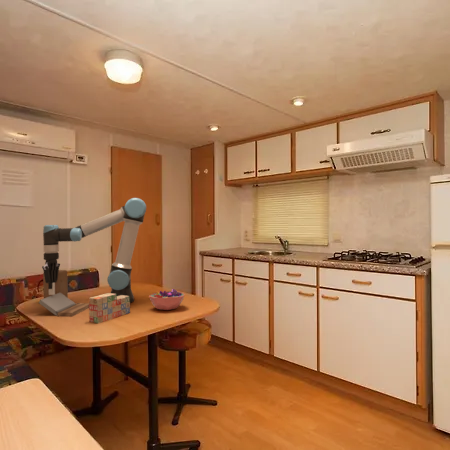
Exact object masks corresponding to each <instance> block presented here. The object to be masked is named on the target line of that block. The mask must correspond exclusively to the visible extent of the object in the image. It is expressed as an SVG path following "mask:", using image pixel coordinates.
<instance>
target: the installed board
mask: <svg viewBox="0 0 450 450" xmlns="http://www.w3.org/2000/svg"><path fill="white" fill-rule="evenodd" d="M86 310H89V302H87V303H83V302H78V303H76V304H75V305H73V306H71V307H69V308H66V309H64V310H62V311H60V312H58V315H57V317H61V318H62V317H68V318H69V317H74V316H76V315H78V314H80V313H82V312H84V311H86Z"/></svg>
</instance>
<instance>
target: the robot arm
mask: <svg viewBox="0 0 450 450" xmlns="http://www.w3.org/2000/svg"><path fill="white" fill-rule="evenodd" d="M146 212H147V204H146V203H145V201H144V199H143V200H142V199H141V198H139V197H132V198H130V199H128V200H127V201H126V203H125V205H123V206H121V207H120V209H117V210H114V211H112V212H110V213H108V214H107V213H106V215H103V216H100V217H97V218H95V219H93V220H90V221H87V222H86V223H83V224H80V225H77V226H75V227H70V228H69V227H67V228H63V227H61V228H60V227H59V225H58V224H46V225H44V226H43V229H42V230H43V231H42V232H43V233H42V235H43V236H42V237H43V239H42V240H43V260H44V261H45V262H44V265H42V267H41V268H42V270H43V273H44V276H45V282H46V283H48V286H49V287H48V288H49V295H54V294H55V282H57V280H58V272H59V270H60V265H61V263H58V260H59V258H60V253H59V251H60V248H59V247H60V246H59V242H62V243H63V242H81V240H82V239H83V238H85V237H88V236H91V235H93V234H95V233H98V232H100V231H103V230H105V229H107V228H109V227H112V226H114V225H117V224H120V223H122V222H124V223H123V228H122V231H121V236H120V241H119V245H118V249H117V252H116V258H115V261H114V262H113V263H112V264H111V266H110V270H109V274H108V276H107V284H108V285H109V288H111V289H110V293H113V294H117V296H120V295H124V296H129V298H130V303H133V302H134V301H135V296H134V293H133V290H132V286H131V285H132V283H131V282H132V281H131V280H132V279H131V278H132V275H131V273H132V269H133V267H132V265H131V261H132V260H133V259H132V258H133V255H134V254H133V253H134V251H135V246H136V241H137V237H138V234H139V228H140V225H142V224H143V223H144V219H145V216H146Z"/></svg>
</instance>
